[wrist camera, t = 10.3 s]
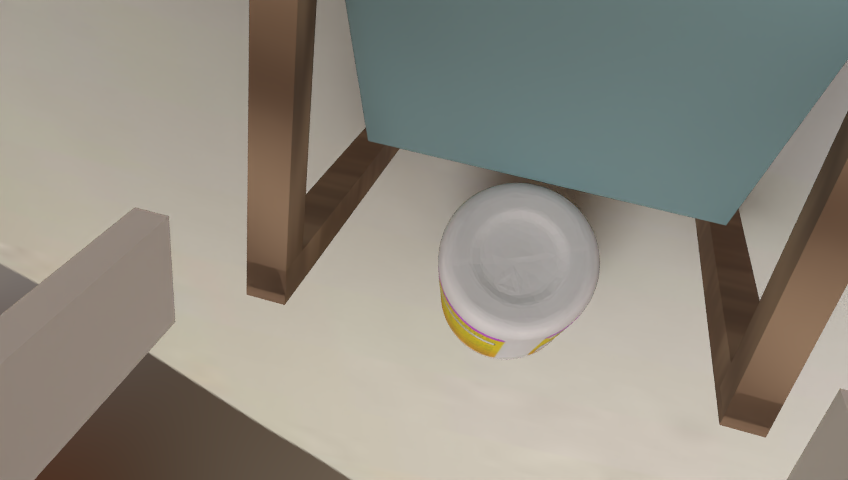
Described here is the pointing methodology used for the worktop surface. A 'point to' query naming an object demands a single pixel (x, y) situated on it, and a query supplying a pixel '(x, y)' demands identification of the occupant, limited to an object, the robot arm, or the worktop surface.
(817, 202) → the frame
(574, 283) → the supplement bottle
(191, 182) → the worktop surface
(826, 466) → the robot arm
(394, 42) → the trapdoor
